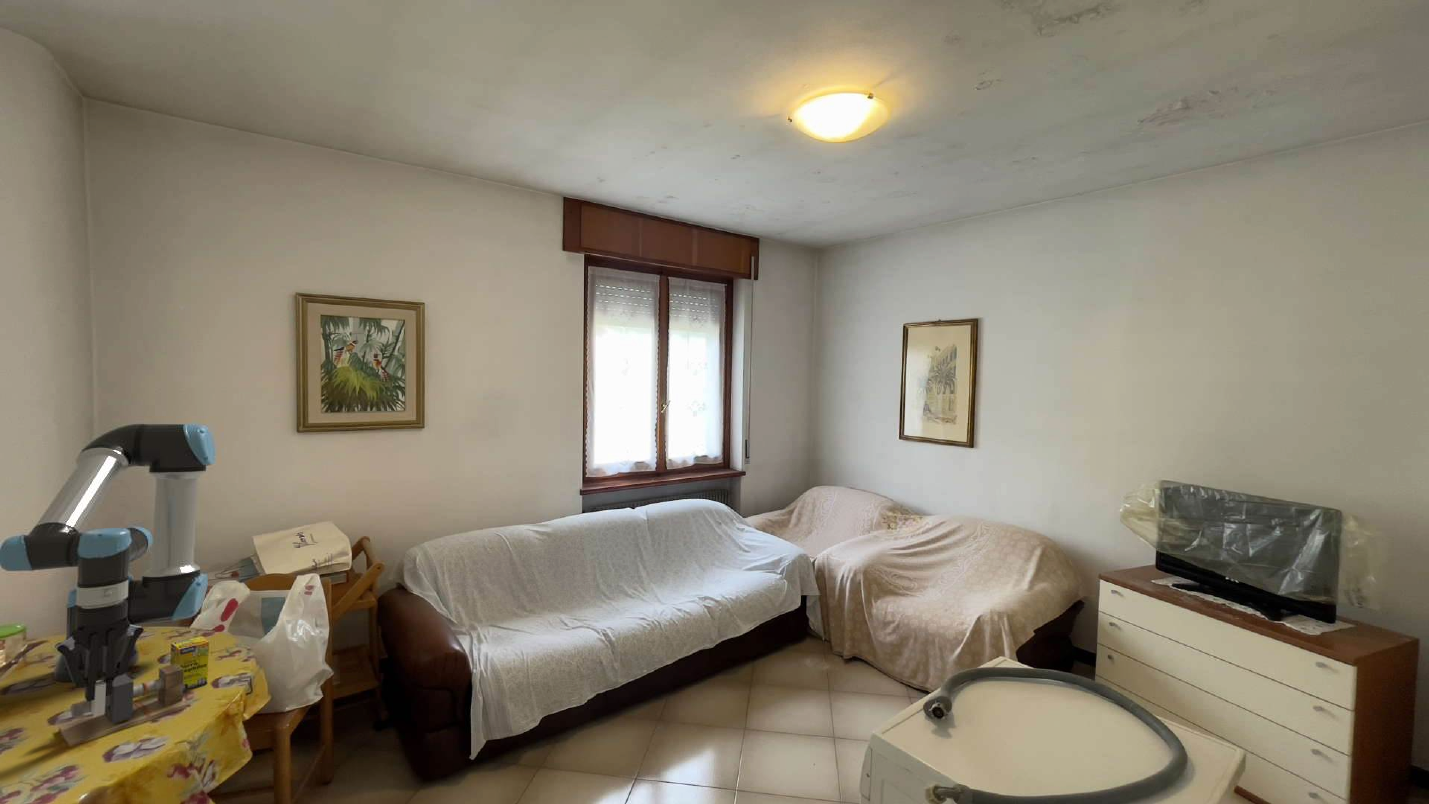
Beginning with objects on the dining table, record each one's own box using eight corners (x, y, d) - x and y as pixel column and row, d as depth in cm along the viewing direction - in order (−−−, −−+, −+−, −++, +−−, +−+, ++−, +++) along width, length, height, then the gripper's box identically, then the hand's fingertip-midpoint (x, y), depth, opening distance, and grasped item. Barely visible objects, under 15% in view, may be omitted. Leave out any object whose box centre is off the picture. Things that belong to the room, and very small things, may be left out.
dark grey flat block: (112, 724, 122) (114, 687, 122) (102, 712, 126) (103, 676, 126) (132, 717, 124) (133, 681, 124) (121, 706, 128) (122, 671, 129)
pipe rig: (70, 746, 116) (72, 705, 116) (58, 730, 121) (60, 691, 121) (185, 708, 131) (187, 672, 131) (171, 695, 136) (172, 660, 136)
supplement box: (176, 694, 137) (178, 649, 137) (168, 686, 140) (170, 643, 141) (208, 684, 142) (209, 641, 142) (199, 677, 146) (201, 635, 146)
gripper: (60, 615, 112) (55, 733, 112) (150, 598, 124) (145, 705, 123) (52, 607, 116) (47, 721, 116) (139, 591, 128) (135, 695, 127)
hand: (97, 713), depth 120 cm, fingers closed
